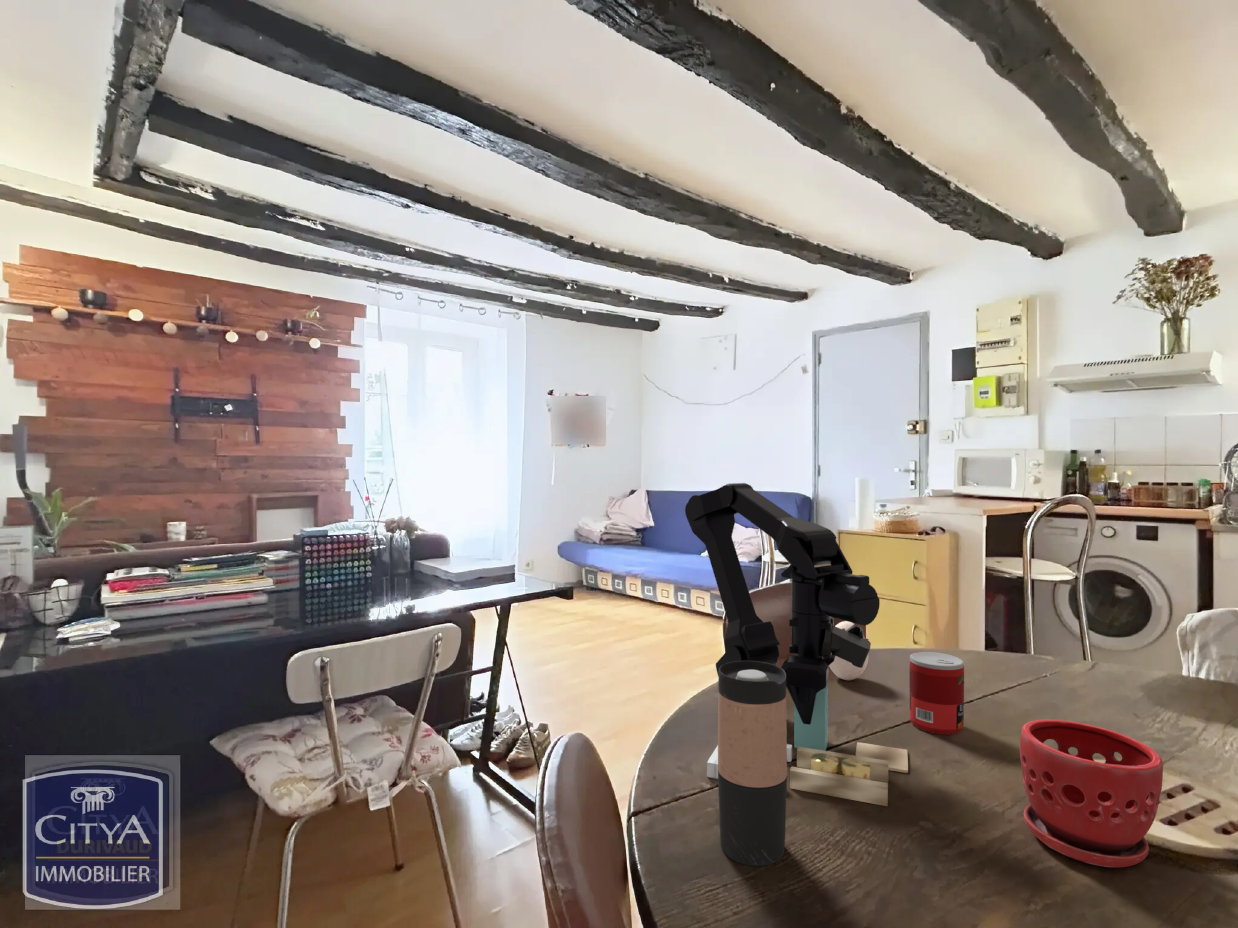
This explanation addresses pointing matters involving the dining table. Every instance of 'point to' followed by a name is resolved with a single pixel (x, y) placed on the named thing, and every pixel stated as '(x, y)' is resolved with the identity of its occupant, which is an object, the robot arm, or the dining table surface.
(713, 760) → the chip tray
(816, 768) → the gold rounded lump
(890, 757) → the cork pad
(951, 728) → the canned food
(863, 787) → the slot rails
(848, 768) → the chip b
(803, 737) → the block
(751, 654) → the robot arm
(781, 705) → the travel mug
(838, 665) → the egg
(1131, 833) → the plant pot
